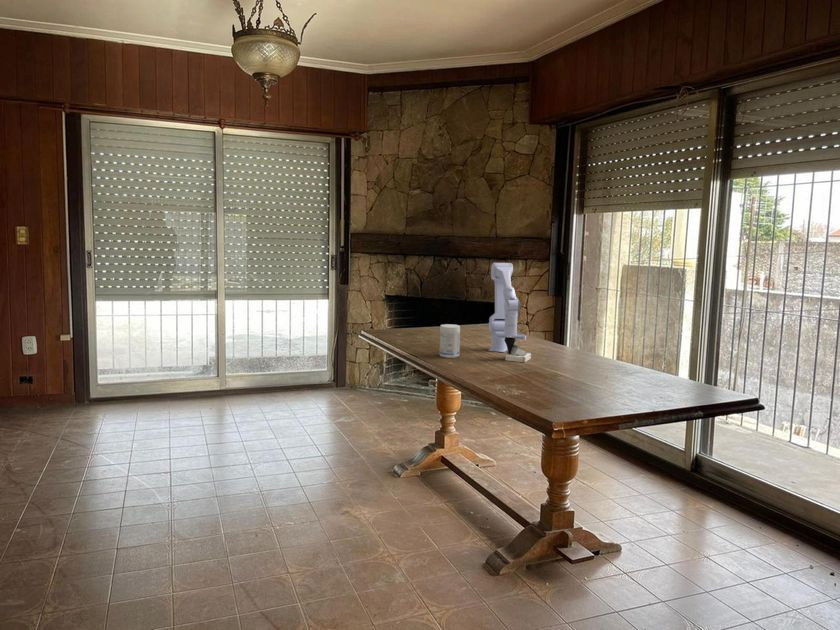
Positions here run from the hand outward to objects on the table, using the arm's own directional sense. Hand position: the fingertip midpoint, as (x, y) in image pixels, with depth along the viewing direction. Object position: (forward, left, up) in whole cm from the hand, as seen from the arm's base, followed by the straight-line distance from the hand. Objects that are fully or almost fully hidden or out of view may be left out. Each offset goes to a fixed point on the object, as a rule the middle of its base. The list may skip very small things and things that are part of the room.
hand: (509, 353), depth 299 cm
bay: (-2, +3, -2) cm, 4 cm away
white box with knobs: (-2, +2, -2) cm, 3 cm away
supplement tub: (+10, -27, -3) cm, 29 cm away
